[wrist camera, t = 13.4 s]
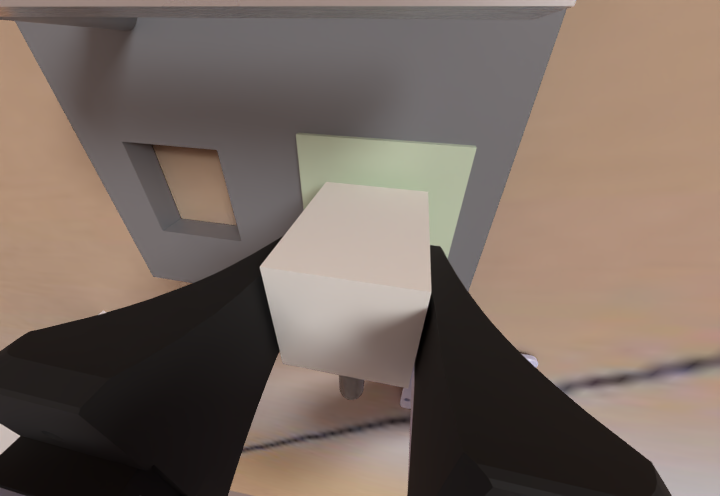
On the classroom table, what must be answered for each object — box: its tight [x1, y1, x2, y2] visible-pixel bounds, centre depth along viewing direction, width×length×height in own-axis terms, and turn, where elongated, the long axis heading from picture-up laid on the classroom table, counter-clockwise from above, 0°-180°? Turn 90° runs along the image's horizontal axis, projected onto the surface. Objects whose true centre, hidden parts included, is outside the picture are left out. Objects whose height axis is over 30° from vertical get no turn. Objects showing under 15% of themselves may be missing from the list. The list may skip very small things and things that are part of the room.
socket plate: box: [0, 9, 566, 291], centre depth 12 cm, size 15×20×6 cm
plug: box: [260, 182, 431, 400], centre depth 11 cm, size 8×4×6 cm, turn 179°
